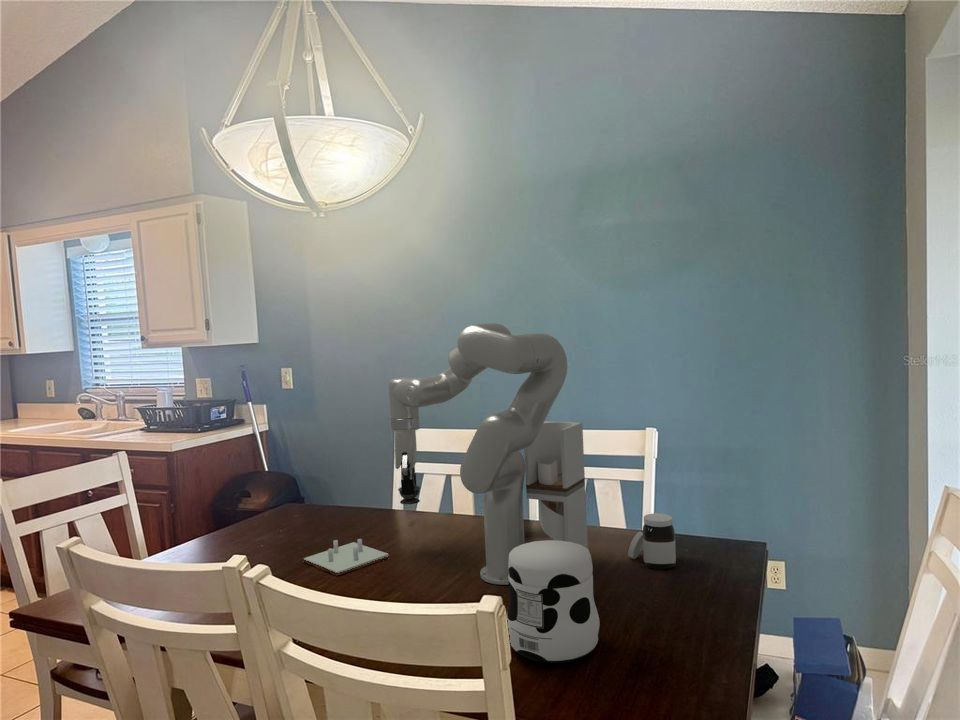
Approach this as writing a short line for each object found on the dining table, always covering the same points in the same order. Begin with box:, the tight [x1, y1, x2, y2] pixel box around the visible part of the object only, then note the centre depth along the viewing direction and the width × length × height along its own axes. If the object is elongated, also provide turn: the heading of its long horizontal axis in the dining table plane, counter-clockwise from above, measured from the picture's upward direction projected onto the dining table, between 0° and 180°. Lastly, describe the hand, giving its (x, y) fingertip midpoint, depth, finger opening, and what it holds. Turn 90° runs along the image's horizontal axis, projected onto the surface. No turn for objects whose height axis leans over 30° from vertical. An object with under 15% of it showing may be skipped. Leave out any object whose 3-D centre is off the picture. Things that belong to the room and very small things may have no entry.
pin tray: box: [303, 538, 390, 573], centre depth 178 cm, size 16×16×4 cm
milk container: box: [506, 539, 601, 664], centre depth 125 cm, size 17×17×18 cm
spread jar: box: [627, 512, 677, 570], centre depth 165 cm, size 12×11×12 cm
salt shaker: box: [398, 465, 421, 505], centre depth 179 cm, size 6×6×12 cm
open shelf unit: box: [523, 420, 589, 550], centre depth 166 cm, size 11×11×35 cm
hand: (409, 490), depth 179 cm, fingers closed on salt shaker, 5 cm apart
